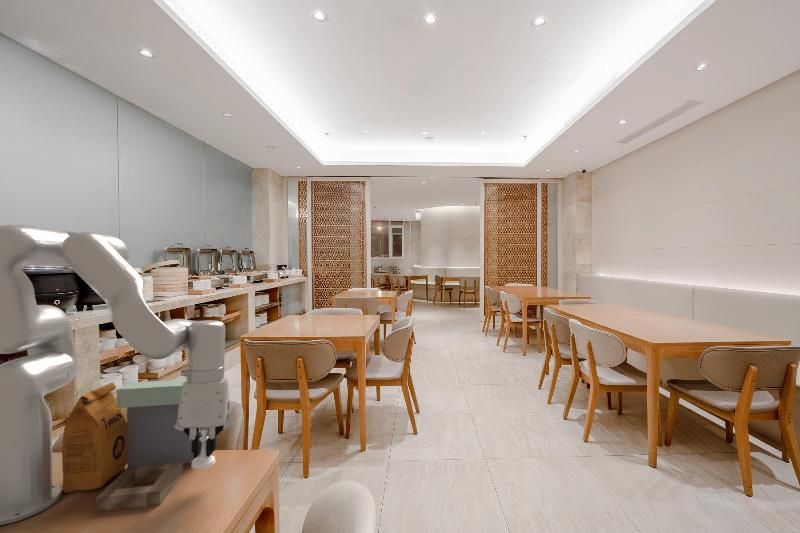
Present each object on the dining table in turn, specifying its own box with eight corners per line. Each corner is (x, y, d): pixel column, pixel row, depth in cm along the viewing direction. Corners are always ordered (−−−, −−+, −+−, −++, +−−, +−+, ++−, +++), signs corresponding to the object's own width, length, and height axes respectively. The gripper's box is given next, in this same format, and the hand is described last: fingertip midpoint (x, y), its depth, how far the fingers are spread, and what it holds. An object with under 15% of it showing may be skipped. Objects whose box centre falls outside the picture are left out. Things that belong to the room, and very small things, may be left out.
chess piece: (205, 470, 82) (206, 425, 82) (186, 467, 83) (187, 422, 83) (220, 459, 86) (221, 416, 87) (202, 456, 87) (203, 414, 88)
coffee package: (136, 464, 95) (136, 379, 95) (100, 494, 82) (99, 396, 82) (96, 466, 94) (96, 380, 94) (53, 496, 82) (53, 397, 82)
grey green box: (117, 478, 88) (116, 389, 89) (129, 466, 94) (129, 382, 94) (197, 470, 92) (196, 384, 92) (205, 459, 97) (204, 378, 97)
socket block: (96, 512, 76) (96, 497, 76) (128, 479, 88) (128, 467, 88) (159, 505, 78) (159, 491, 78) (182, 474, 90) (182, 462, 90)
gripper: (160, 380, 80) (158, 465, 79) (238, 378, 82) (236, 460, 82) (175, 371, 87) (173, 448, 87) (246, 369, 90) (244, 444, 90)
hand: (203, 453), depth 84 cm, fingers closed on chess piece
